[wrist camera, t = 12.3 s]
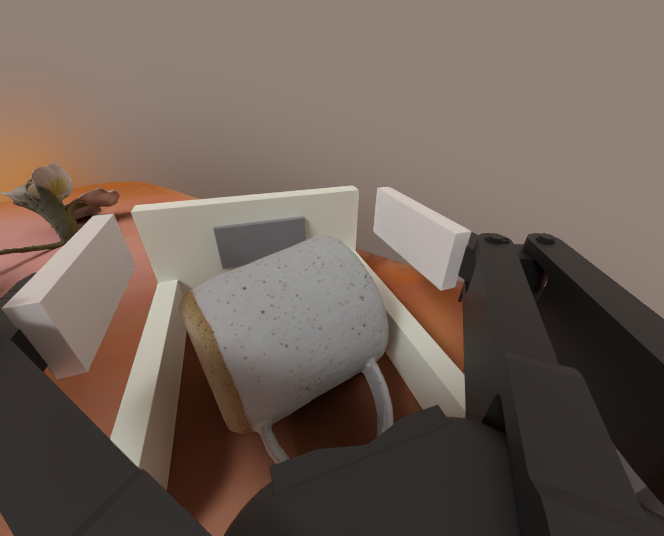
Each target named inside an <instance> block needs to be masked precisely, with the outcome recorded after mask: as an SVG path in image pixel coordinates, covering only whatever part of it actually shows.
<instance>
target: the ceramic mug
mask: <svg viewBox="0 0 664 536" xmlns="http://www.w3.org/2000/svg"><path fill="white" fill-rule="evenodd" d="M178 310H179V312H180V315H181V318H182V321H183V323H184V325H185V327H186V330H187V332H188V334H189V337H190V339H191V341H192V344H193V346H194V349H195V351H196V353H197V356H198V358H199V361H200V363H201V366H202V368H203V371H204V373H205V376H206V378H207V380H208V383H209V385H210V387H211V389H212V392H213V394H214V397H215V399H216V402H217V404H218V407H219V409H220V412H221V414H222V417H223V419H224V421H225V423H226V425H227V427H228V429H229V430H230V431H233V432H236V433H239V434H249V433H252V432H257V433H259V434H260V436H261V439H262V441H263V443H264V446H265V449H266V451H267V452H268V454H269V456H270V457H271V458H272V460H273V461H274V462H275V463H276V464H278V463H281V462H283V461H286V460H289V457H288V456H287V455H286V453H285V452H284V450H283V449H282V448H281V446H280V445H279V444H278V442H277V440H276V437H275V435H274V434H273V432H272V429H271V425H273V424H275V423H276V422H278V421H280V420H281V419H283V418H285V417H287V416H289V415H290V414H292V413H293V412H294V411H296V410H297V409H298V408H300V407H302V406H304V405H306V404H308V403H309V402H310V401H311V400H313V399H314V398H316V397H317V396H320V395H321V394H323V393H325V392H327V391H329V390H330V389H332V388H334V387H336V386H337V385H339V384H341V383H343V382H344V381H346V380H349V379H350V378H351V377H353V376H354V375H356V374H359V373H360V372H361V373H363V374H364V376H365V377H366V380H367V382H368V384H369V386H370V389H371V392H372V395H373V398H374V402H375V407H376V411H377V425H378V426H377V432H376V437H375V438H377V437H378V436H379V435H381V434H382V433H383V432H384V431H386V430H387V429H388V428H389V427H391V426H392V425H393V407H392V402H391V398H390V394H389V390H388V387H387V385H386V382H385V380H384V377H383V374H382V372H381V371H380V368H379V366H378V364H377V362H376V361H378V360H379V359H380V358H381V357H382V356H383V354H384V352H385V349H386V347H387V344H388V336H389V326H388V321H387V315H386V311H385V307H384V304H383V300H382V298H381V296H380V293H379V291H378V289H377V287H376V285H375V283H374V281H373V279H372V277H371V275H370V274H369V272H368V271H367V269H366V268H365V266H364V265H363V263H362V262H361V261H360V259H359V258H358V257H357V255H356V254H355V253H354V252H353V251H352V250H351V249H350V248H348V247H347V246H346V245H344V244H343V243H342V242H341V241H339V240H338V239H335V238H333V237H330V236H324V235H322V236H316V237H313V238H310V239H308V240H305V241H303V242H301V243H298V244H296V245H294V246H291V247H289V248H286V249H284V250H281V251H279V252H276V253H273V254H271V255H268V256H266V257H263V258H261V259H258V260H256V261H254V262H252V263H249V264H247V265H244V266H241V267H238V268H236V269H233V270H230V271H228V272H225V273H223V274H220V275H218V276H215V277H213V278H212V279H210V280H208V281H206V282H204V283H202V284H201V285H199V286H197V287H196V288H194V289H192V290H190V291H189V292H188V293H186V294H185V295H184V296H183V297H182V299H181V302H180V304H179V307H178Z"/></svg>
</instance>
